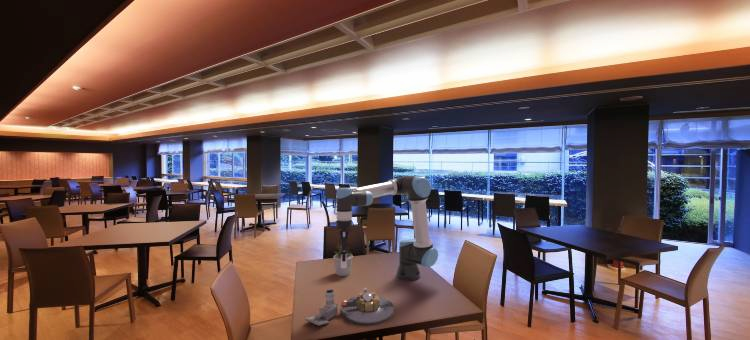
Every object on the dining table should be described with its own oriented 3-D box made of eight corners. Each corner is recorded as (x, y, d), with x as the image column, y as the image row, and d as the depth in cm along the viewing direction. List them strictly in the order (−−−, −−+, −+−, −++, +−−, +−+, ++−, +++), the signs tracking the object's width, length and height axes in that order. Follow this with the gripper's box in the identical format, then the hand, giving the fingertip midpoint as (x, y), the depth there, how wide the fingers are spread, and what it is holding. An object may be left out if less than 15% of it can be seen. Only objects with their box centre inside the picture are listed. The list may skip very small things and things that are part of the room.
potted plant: (357, 272, 191) (357, 242, 191) (344, 279, 180) (344, 247, 180) (342, 268, 198) (342, 239, 198) (329, 275, 187) (329, 244, 186)
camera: (341, 290, 135) (318, 303, 123) (341, 315, 136) (318, 330, 123) (328, 286, 140) (304, 298, 128) (328, 310, 141) (304, 324, 128)
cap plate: (388, 297, 154) (388, 282, 154) (398, 322, 129) (398, 304, 129) (341, 300, 151) (341, 285, 150) (342, 326, 126) (342, 308, 126)
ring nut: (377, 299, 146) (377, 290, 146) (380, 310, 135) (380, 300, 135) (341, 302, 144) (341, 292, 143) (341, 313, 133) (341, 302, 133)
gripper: (336, 215, 152) (336, 255, 152) (335, 224, 128) (335, 272, 128) (351, 215, 153) (350, 255, 153) (352, 224, 128) (352, 271, 128)
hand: (343, 263), depth 140 cm, fingers open, 13 cm apart
